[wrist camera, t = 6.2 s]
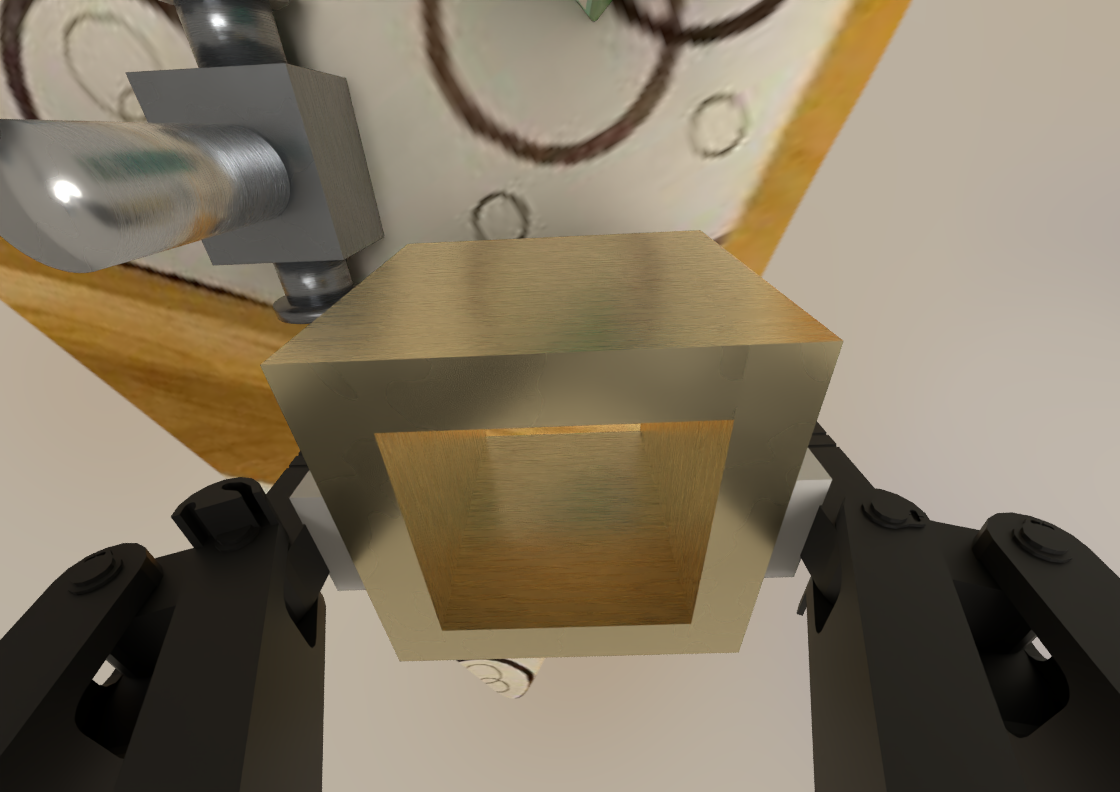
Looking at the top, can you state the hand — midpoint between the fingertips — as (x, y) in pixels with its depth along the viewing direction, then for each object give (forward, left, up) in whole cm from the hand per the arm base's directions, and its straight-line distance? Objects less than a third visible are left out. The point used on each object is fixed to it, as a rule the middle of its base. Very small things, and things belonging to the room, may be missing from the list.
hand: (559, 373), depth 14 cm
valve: (-6, -13, -12) cm, 19 cm away
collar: (0, 0, 0) cm, 0 cm away
